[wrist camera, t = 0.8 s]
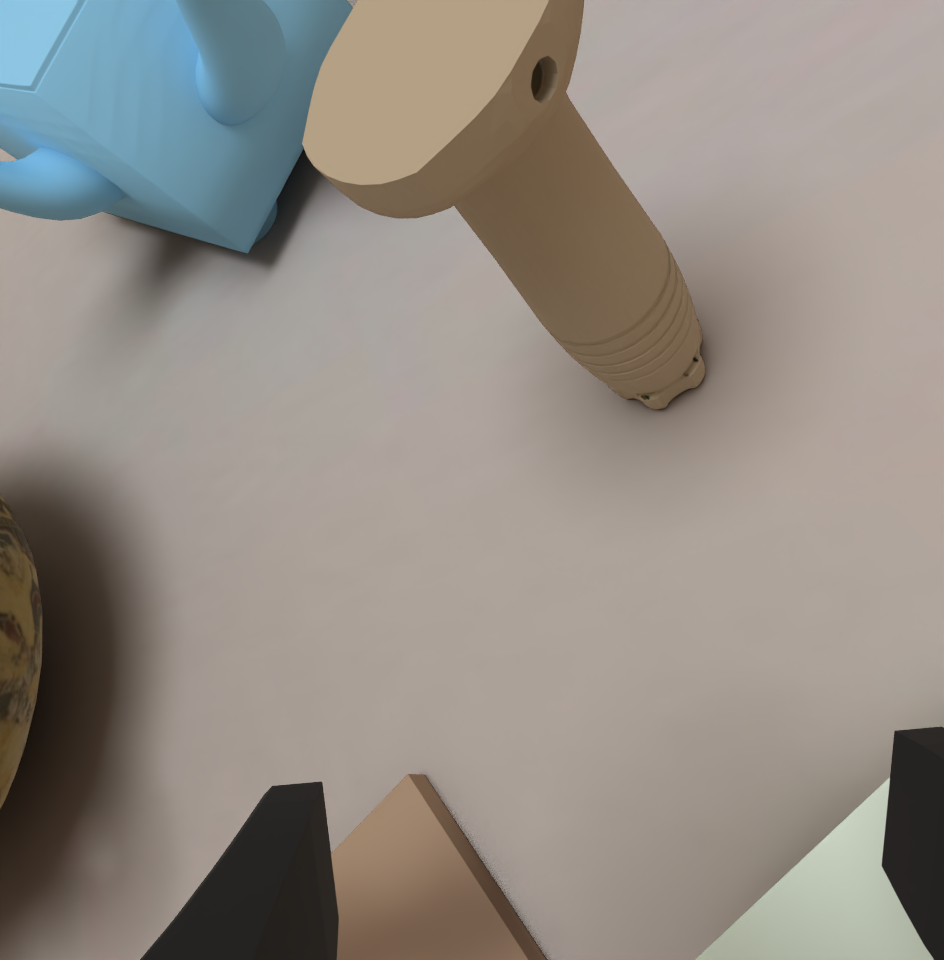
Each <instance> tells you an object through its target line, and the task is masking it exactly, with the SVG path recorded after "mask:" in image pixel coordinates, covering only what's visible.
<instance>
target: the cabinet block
mask: <svg viewBox="0 0 944 960" xmlns="http://www.w3.org/2000/svg"><path fill="white" fill-rule="evenodd" d="M889 784H890V777H889V778H888V779H887V780H886V781H885V782H884V783H883V784H882V785H881V786H880V787H879V788H878V789H877V790H876V791H875V792H873V793H872V794H871V795H870V796H869V797H868V798H867V799H866V800H865V801H864V802H863V803H862V804H861V805H860V806H859V807H857V808H856V809H855V810H854V811H853V812H852V813H851V814H850V815H849V816H848V817H847V818H846V819H845V820H844V821H843V822H841V823H840V824H839V825H838V826H837V827H836V828H835V829H834V830H833V831H832V832H831V833H830V834H829V835H828V836H826V837H825V838H824V839H823V840H822V841H821V842H820V843H819V844H818V845H817V846H816V847H815V848H814V849H813V850H812V851H810V852H809V853H808V854H807V855H806V856H805V857H804V858H803V859H802V860H801V861H800V862H799V863H798V864H797V865H796V866H794V867H793V868H792V869H791V870H790V871H789V872H788V873H787V874H786V875H785V876H784V877H783V878H782V879H781V880H780V881H778V882H777V883H776V884H775V885H774V886H773V887H772V888H771V889H770V890H769V891H768V892H767V893H766V894H765V895H763V896H762V897H761V898H760V899H759V900H758V901H757V902H756V903H755V904H754V905H753V906H752V907H751V908H750V909H749V910H747V911H746V912H745V913H744V914H743V915H742V916H741V917H740V918H739V919H738V920H737V921H736V922H735V923H734V924H733V925H731V926H730V927H729V928H728V929H727V930H726V931H725V932H724V933H723V934H722V935H721V936H720V937H719V938H718V939H717V940H715V941H714V942H713V943H712V944H711V945H710V946H709V947H708V948H707V949H706V950H705V951H704V952H703V953H702V954H700V955H699V956H698V957H697V958H696V959H695V960H934V959H933V957H932V956H931V954H930V953H929V952H928V950H927V949H926V947H925V946H924V944H923V942H922V940H921V939H920V937H919V935H918V933H917V932H916V930H915V928H914V926H913V924H912V923H911V921H910V919H909V917H908V915H907V914H906V912H905V910H904V908H903V906H902V904H901V902H900V901H899V899H898V897H897V895H896V893H895V891H894V889H893V887H892V885H891V883H890V881H889V879H888V877H887V875H886V873H885V872H884V870H883V868H882V856H883V845H884V835H885V825H886V815H887V805H888V794H889Z"/></svg>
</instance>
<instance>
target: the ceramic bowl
mask: <svg viewBox="0 0 944 960" xmlns="http://www.w3.org/2000/svg"><path fill="white" fill-rule="evenodd" d="M41 663H42V604H41V598H40V591H39V585H38V578H37V572H36V568H35V564H34V560H33V556H32V553H31V551H30V548H29V546H28V543H27V540H26V538H25V535H24V533H23V531H22V529H21V527H20V525H19V523H18V521H17V519H16V517H15V515H14V514H13V512H12V510H11V509H10V507H9V506H8V504H7V503H6V501H5V500H4V498H3V497H2V496H1V495H0V809H1V807H2V805H3V803H4V801H5V799H6V797H7V794H8V792H9V789H10V787H11V784H12V782H13V779H14V777H15V774H16V772H17V769H18V766H19V763H20V760H21V757H22V754H23V751H24V747H25V744H26V741H27V737H28V732H29V728H30V724H31V720H32V716H33V712H34V708H35V704H36V699H37V692H38V684H39V677H40V670H41Z"/></svg>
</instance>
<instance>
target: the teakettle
mask: <svg viewBox="0 0 944 960" xmlns="http://www.w3.org/2000/svg"><path fill="white" fill-rule="evenodd" d="M352 9H353V7H352V6H351V5H350V4H349V2H348V1H347V0H0V148H1V149H3V150H4V151H6V152H7V153H9V154H10V155H12V156H13V157H15V158H16V159H17V160H16V161H12V162H0V208H1V209H5V210H8V211H11V212H15V213H19V214H23V215H27V216H31V217H36V218H44V219H52V220H72V219H82V218H85V217H88V216H90V215H93V214H96V213H99V212H105V213H108V214H112V215H115V216H119V217H122V218H125V219H129V220H132V221H136V222H139V223H142V224H146V225H149V226H153V227H156V228H160V229H163V230H166V231H170V232H173V233H177V234H180V235H184V236H187V237H191V238H194V239H198V240H201V241H204V242H208V243H211V244H215V245H218V246H222V247H225V248H229V249H232V250H236V251H239V252H243V253H247V254H248V253H249V251H250V249H251V247H252V245H253V244H255V243H257V242H258V241H259V240H261V239H262V238H263V237H264V236H265V235H266V234H267V233H268V231H269V230H270V229H271V227H272V225H273V223H274V221H275V219H276V215H277V202H276V200H277V198H278V196H279V194H280V192H281V190H282V188H283V187H284V185H285V183H286V181H287V179H288V177H289V175H290V173H291V171H292V169H293V168H294V166H295V164H296V162H297V160H298V158H299V156H300V154H301V153H302V151H303V149H304V147H303V145H302V142H303V137H304V132H305V127H306V122H307V117H308V112H309V107H310V103H311V99H312V94H313V90H314V86H315V83H316V80H317V77H318V74H319V71H320V68H321V65H322V63H323V61H324V59H325V57H326V55H327V53H328V51H329V49H330V47H331V45H332V44H333V42H334V40H335V38H336V37H337V35H338V33H339V32H340V30H341V28H342V26H343V25H344V23H345V21H346V19H347V18H348V16H349V14H350V13H351V11H352Z"/></svg>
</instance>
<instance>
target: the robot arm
mask: <svg viewBox="0 0 944 960" xmlns="http://www.w3.org/2000/svg"><path fill="white" fill-rule="evenodd" d="M882 868H883V870H884V872H885V873H886V875H887V877H888V879H889V881H890V883H891V885H892V887H893V889H894V891H895V893H896V895H897V897H898V899H899V901H900V902H901V904H902V906H903V908H904V910H905V912H906V914H907V915H908V917H909V919H910V921H911V923H912V924H913V926H914V928H915V930H916V932H917V933H918V935H919V937H920V939H921V940H922V942H923V944H924V946H925V947H926V949H927V950H928V952H929V953H930V954H931V956H932V957H933V959H934V960H944V727H933V728H922V729H911V730H899V731H895V733H894V743H893V754H892V764H891V774H890V784H889V794H888V805H887V815H886V825H885V835H884V845H883V856H882ZM338 926H339V915H338V907H337V898H336V890H335V882H334V874H333V866H332V858H331V850H330V842H329V834H328V826H327V817H326V809H325V801H324V793H323V785H322V782H313V783H301V784H290V785H279V786H272V787H271V788H270V789H269V790H268V791H267V792H266V793H265V794H264V796H263V797H262V799H261V800H260V802H259V803H258V804H257V806H256V807H255V809H254V810H253V812H252V813H251V815H250V816H249V818H248V819H247V821H246V822H245V824H244V825H243V826H242V828H241V829H240V831H239V832H238V834H237V835H236V837H235V838H234V839H233V841H232V842H231V844H230V845H229V846H228V848H227V849H226V851H225V852H224V853H223V855H222V856H221V858H220V859H219V860H218V862H217V863H216V865H215V866H214V867H213V869H212V870H211V871H210V873H209V874H208V875H207V877H206V878H205V879H204V881H203V882H202V883H201V884H200V886H199V887H198V888H197V890H196V891H195V892H194V894H193V895H192V896H191V898H190V899H189V900H188V902H187V903H186V904H185V906H184V907H183V908H182V910H181V911H180V912H179V913H178V915H177V916H176V917H175V918H174V920H173V921H172V922H171V923H170V925H169V926H168V927H167V928H166V930H165V931H164V932H163V933H162V934H161V936H160V937H159V938H158V939H157V940H156V941H155V943H154V944H153V945H152V946H151V947H150V949H149V950H148V951H147V952H146V953H145V955H144V956H143V957H142V958H141V959H140V960H337V946H338Z"/></svg>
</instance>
